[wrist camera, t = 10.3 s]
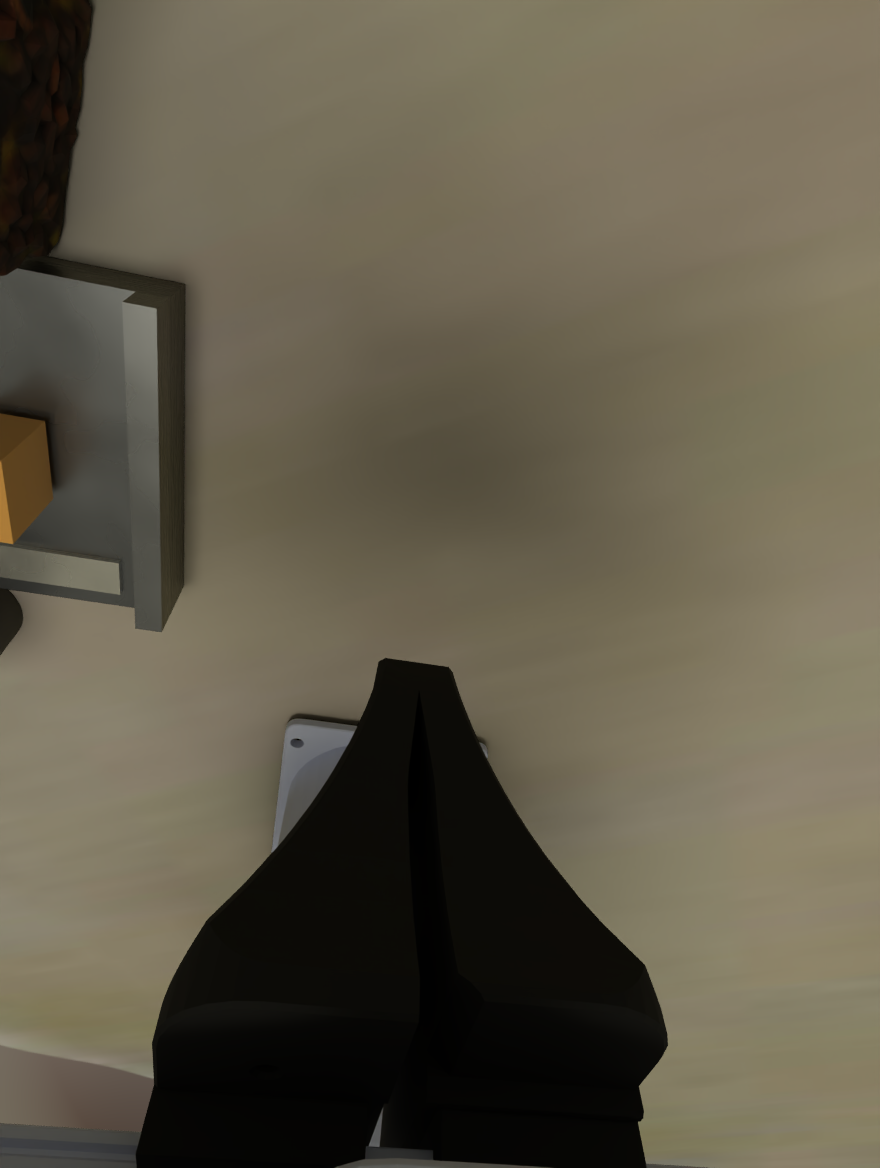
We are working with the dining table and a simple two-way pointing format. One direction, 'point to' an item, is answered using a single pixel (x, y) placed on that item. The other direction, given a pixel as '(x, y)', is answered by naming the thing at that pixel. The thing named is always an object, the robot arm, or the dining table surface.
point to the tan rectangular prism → (22, 474)
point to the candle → (37, 120)
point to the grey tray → (99, 432)
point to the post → (8, 618)
